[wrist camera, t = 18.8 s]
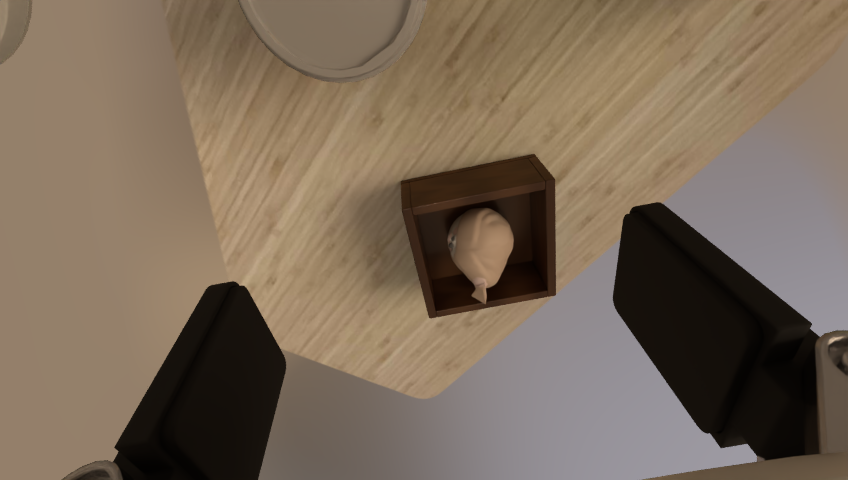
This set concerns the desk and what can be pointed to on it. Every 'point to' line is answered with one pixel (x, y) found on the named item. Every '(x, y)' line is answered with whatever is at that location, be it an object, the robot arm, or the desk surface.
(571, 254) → the desk surface
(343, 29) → the disposable coffee cup
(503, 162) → the holder
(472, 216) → the garlic bulb
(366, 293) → the desk surface
